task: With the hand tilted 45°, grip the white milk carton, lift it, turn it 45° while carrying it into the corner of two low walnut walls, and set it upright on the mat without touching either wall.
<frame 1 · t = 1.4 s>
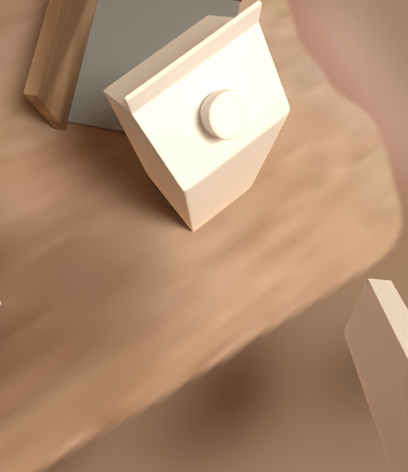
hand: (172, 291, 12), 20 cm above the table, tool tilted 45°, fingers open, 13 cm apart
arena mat: (156, 61, 35), on the table
milk carton: (199, 182, 33), on the table, touching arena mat
corner walls: (152, 60, 35), on the table
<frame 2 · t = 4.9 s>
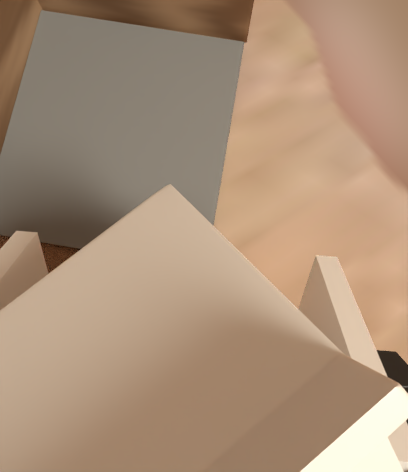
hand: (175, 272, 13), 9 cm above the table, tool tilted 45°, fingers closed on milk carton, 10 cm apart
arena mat: (119, 133, 23), on the table
milk carton: (181, 329, 21), on the table, touching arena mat, gripper
corner walls: (112, 132, 23), on the table
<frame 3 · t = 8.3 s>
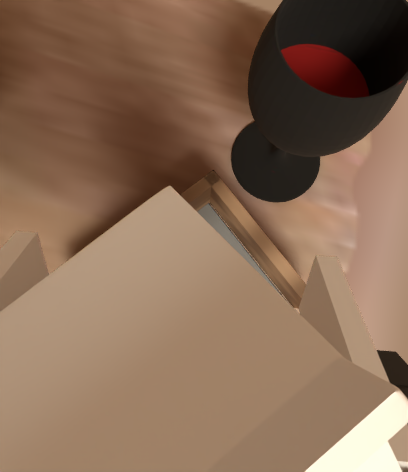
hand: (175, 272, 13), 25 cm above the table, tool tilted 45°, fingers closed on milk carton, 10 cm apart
wine glass: (274, 160, 40), on the table
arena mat: (190, 300, 37), on the table
milk carton: (181, 330, 21), point 16 cm above the table, touching gripper
corner walls: (187, 296, 37), on the table
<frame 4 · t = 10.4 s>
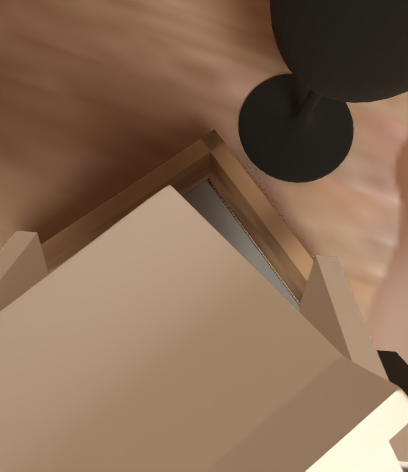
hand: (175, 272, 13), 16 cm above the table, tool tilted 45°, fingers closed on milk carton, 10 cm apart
wine glass: (294, 129, 31), on the table
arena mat: (177, 305, 28), on the table
milk carton: (181, 330, 21), point 7 cm above the table, touching gripper
corner walls: (174, 300, 28), on the table
when the fingers open (10 cm above the table, at t = 12.1 s): milk carton drops 1 cm, resting on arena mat.
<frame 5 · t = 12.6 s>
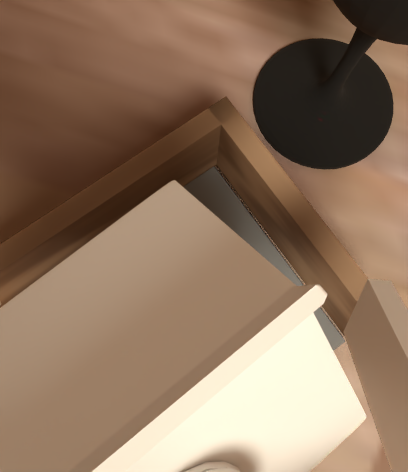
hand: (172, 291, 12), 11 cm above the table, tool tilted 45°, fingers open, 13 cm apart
wine glass: (320, 105, 26), on the table
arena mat: (178, 321, 23), on the table
milk carton: (183, 328, 23), resting on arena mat
corner walls: (174, 314, 23), on the table
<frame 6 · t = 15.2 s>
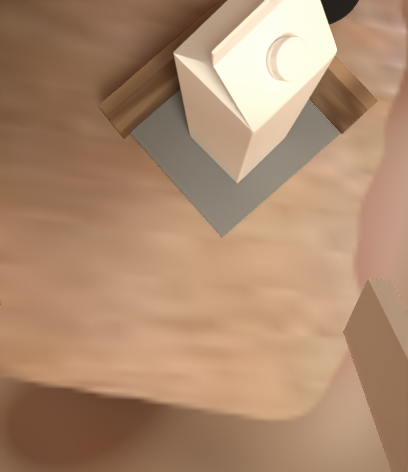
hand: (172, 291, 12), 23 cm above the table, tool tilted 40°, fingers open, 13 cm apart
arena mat: (233, 134, 36), on the table
milk carton: (237, 137, 36), resting on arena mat
corner walls: (230, 130, 36), on the table
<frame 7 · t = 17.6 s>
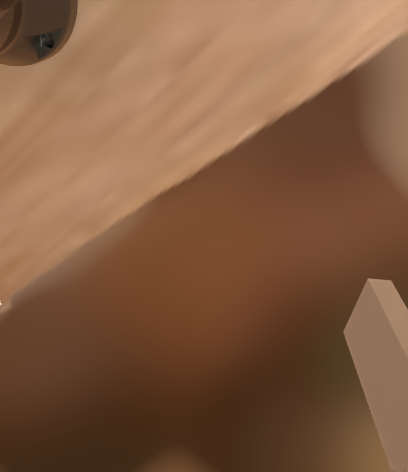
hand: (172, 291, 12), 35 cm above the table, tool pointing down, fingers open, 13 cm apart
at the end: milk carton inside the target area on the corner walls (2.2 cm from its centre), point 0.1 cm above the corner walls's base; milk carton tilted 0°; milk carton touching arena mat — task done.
